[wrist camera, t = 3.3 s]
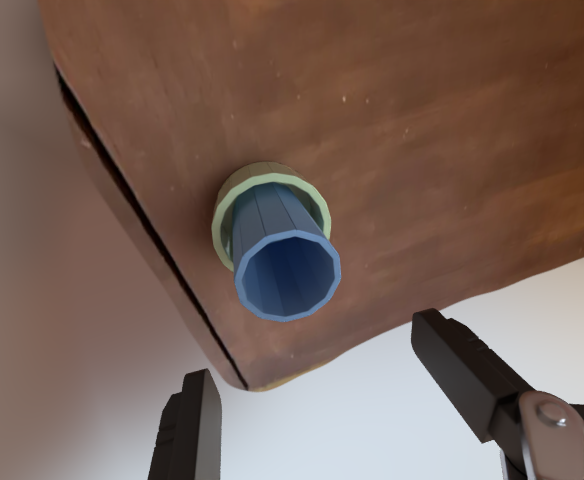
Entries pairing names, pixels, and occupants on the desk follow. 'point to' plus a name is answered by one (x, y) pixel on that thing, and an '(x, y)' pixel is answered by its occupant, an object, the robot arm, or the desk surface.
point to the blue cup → (280, 255)
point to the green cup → (255, 176)
